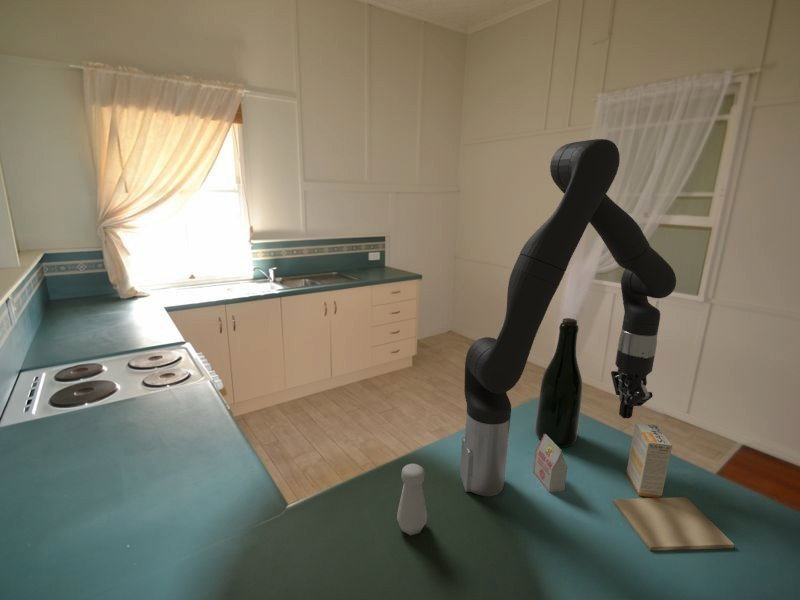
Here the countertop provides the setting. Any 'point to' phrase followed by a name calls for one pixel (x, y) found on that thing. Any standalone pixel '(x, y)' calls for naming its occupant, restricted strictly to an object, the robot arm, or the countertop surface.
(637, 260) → the robot arm
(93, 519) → the countertop surface
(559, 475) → the white printed carton box
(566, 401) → the dark green wine bottle
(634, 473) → the supplement box
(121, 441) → the countertop surface
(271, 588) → the countertop surface
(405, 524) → the salt shaker
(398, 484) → the countertop surface
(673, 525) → the tan wooden board
